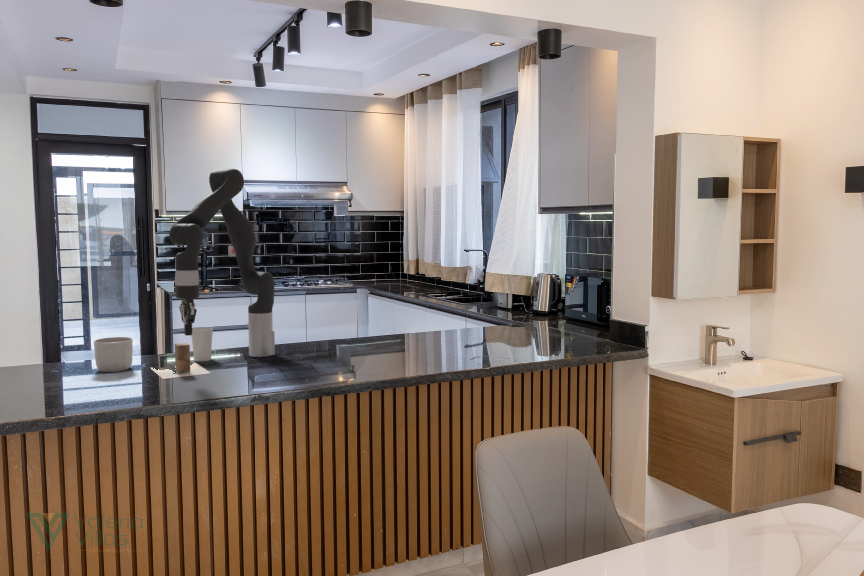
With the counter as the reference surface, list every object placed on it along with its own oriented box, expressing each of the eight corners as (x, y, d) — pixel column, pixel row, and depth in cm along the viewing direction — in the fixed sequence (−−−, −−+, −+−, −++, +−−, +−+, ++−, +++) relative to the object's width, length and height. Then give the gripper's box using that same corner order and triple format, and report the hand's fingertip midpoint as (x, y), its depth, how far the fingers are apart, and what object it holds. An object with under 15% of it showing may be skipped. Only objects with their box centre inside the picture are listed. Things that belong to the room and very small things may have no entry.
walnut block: (187, 370, 235) (186, 342, 234) (190, 372, 232) (189, 344, 231) (175, 372, 233) (174, 343, 232) (178, 374, 230) (177, 345, 229)
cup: (206, 362, 250) (205, 331, 249) (187, 361, 252) (186, 330, 250) (217, 358, 258) (216, 327, 257) (198, 357, 259) (197, 326, 258)
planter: (114, 375, 228) (113, 343, 227) (86, 372, 233) (85, 341, 232) (141, 368, 240) (140, 338, 239) (114, 365, 244) (113, 335, 243)
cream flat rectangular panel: (195, 363, 248) (195, 362, 248) (211, 373, 232) (211, 373, 232) (149, 368, 239) (149, 367, 239) (162, 379, 223) (162, 378, 223)
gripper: (204, 284, 219) (205, 336, 220) (193, 281, 229) (194, 331, 231) (180, 285, 214) (181, 338, 216) (170, 282, 225) (171, 333, 227)
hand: (188, 335), depth 223 cm, fingers closed
